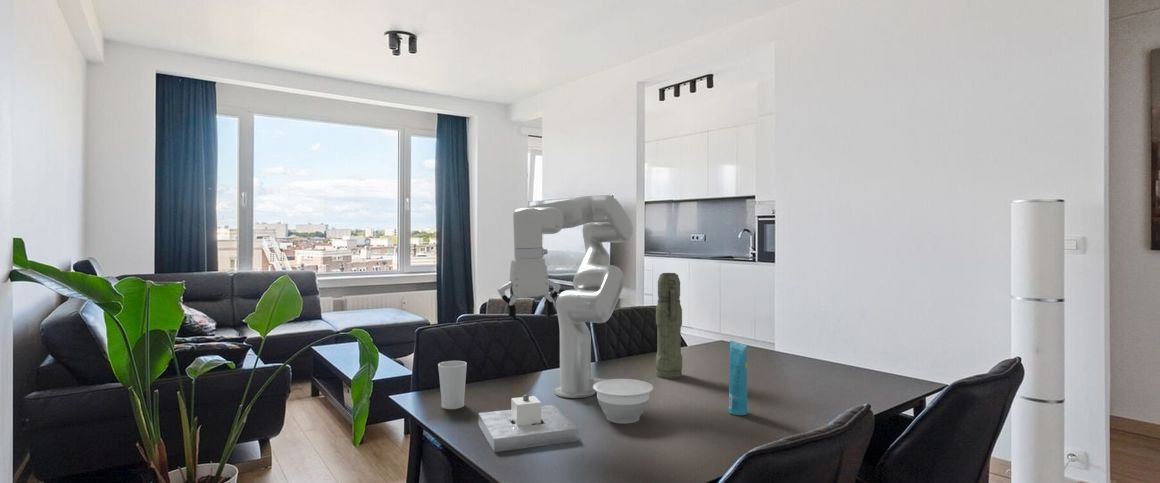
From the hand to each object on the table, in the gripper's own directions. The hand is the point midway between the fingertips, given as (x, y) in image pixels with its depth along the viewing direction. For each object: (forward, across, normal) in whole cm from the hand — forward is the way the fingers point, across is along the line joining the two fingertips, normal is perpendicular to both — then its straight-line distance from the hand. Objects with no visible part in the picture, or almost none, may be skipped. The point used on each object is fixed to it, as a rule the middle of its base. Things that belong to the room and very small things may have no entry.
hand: (530, 317), depth 159 cm
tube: (+28, -52, +20) cm, 62 cm away
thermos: (+29, -55, -23) cm, 66 cm away
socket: (+26, +6, +14) cm, 30 cm away
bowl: (+27, -21, +12) cm, 36 cm away
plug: (+24, +6, +14) cm, 28 cm away
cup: (+26, +19, -15) cm, 36 cm away
